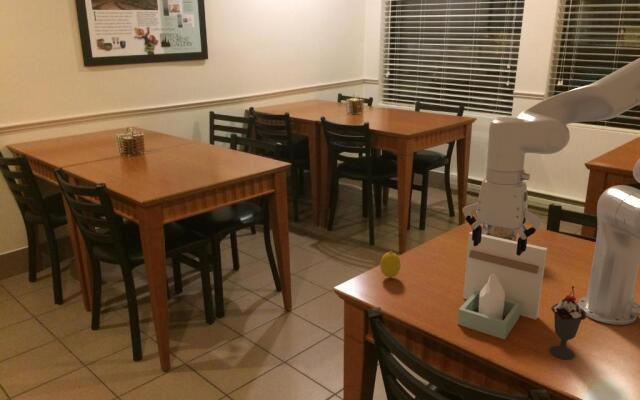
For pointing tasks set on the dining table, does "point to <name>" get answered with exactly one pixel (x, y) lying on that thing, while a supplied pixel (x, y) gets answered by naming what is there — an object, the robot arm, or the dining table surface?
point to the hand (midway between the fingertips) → (498, 248)
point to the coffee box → (499, 232)
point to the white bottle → (492, 298)
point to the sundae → (566, 325)
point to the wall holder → (502, 283)
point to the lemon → (390, 264)
